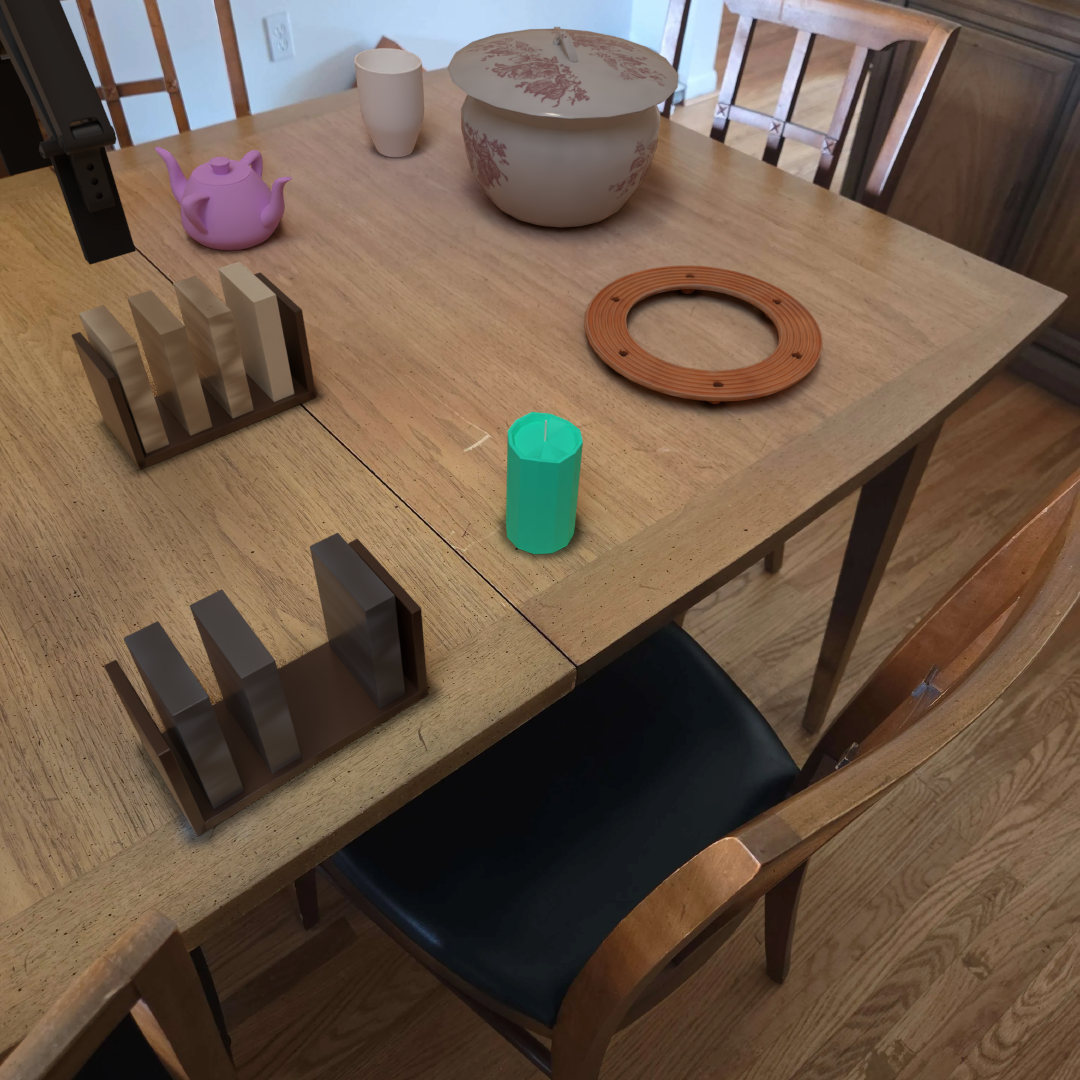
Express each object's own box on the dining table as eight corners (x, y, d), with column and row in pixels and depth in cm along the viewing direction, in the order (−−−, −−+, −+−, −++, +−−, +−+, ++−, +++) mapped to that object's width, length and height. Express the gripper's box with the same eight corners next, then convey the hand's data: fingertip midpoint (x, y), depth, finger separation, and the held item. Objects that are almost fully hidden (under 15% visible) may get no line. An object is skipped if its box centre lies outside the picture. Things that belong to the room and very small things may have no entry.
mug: (409, 168, 127) (403, 76, 118) (351, 156, 129) (341, 64, 120) (444, 136, 135) (441, 47, 126) (389, 124, 137) (383, 36, 128)
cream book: (274, 402, 89) (253, 302, 81) (240, 367, 93) (217, 268, 85) (294, 394, 90) (276, 294, 82) (260, 359, 94) (239, 261, 86)
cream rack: (139, 470, 83) (99, 359, 75) (105, 424, 88) (63, 314, 79) (316, 397, 92) (299, 290, 83) (277, 358, 96) (256, 252, 87)
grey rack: (197, 837, 60) (148, 737, 51) (146, 750, 64) (93, 645, 55) (428, 694, 68) (420, 588, 59) (370, 626, 72) (354, 517, 64)
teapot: (172, 216, 115) (154, 145, 109) (284, 201, 119) (273, 131, 113) (183, 263, 108) (164, 189, 101) (303, 246, 112) (291, 174, 105)
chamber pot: (580, 280, 109) (595, 97, 94) (407, 206, 120) (396, 31, 105) (701, 197, 125) (730, 29, 110) (538, 138, 136) (544, -22, 121)
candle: (495, 513, 81) (496, 405, 73) (558, 498, 83) (567, 390, 74) (519, 561, 78) (523, 453, 69) (585, 544, 79) (597, 436, 71)
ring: (536, 324, 102) (537, 305, 100) (701, 259, 113) (704, 241, 112) (696, 448, 89) (700, 428, 87) (865, 361, 100) (872, 342, 98)
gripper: (103, -191, 38) (214, 277, 53) (-74, -270, 50) (56, 125, 66) (-99, -177, 34) (82, 320, 49) (-234, -265, 47) (-57, 151, 62)
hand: (68, 209), depth 58 cm, fingers open, 13 cm apart
